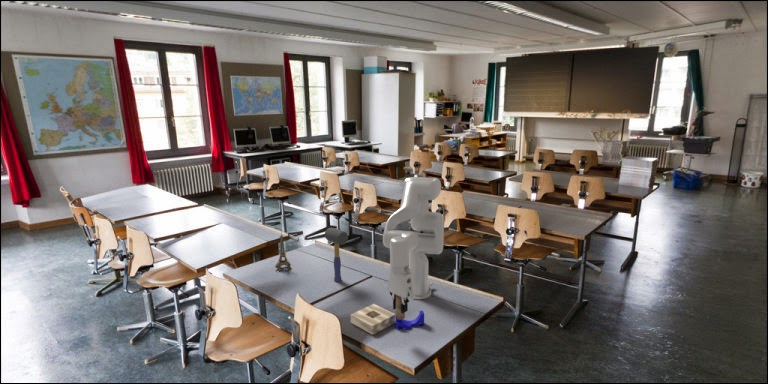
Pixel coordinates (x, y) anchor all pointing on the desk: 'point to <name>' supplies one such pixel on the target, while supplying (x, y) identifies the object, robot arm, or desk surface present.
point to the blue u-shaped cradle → (410, 322)
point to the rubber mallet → (336, 248)
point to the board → (373, 319)
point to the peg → (399, 308)
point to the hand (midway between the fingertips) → (400, 309)
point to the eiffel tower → (282, 261)
